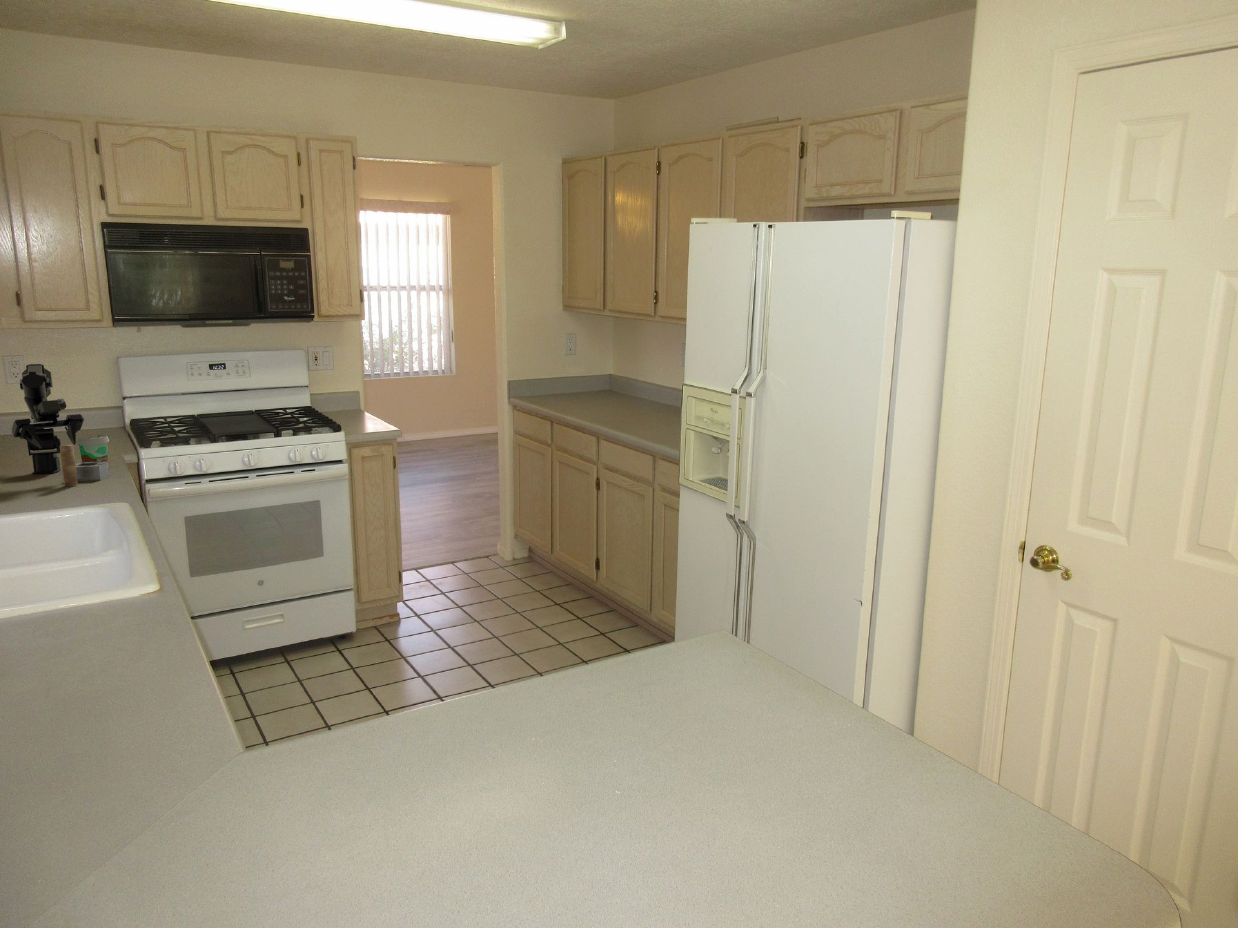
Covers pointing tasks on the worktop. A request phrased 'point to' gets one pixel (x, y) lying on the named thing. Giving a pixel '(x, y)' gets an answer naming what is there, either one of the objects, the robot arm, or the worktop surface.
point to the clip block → (92, 470)
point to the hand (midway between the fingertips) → (58, 445)
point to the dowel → (68, 465)
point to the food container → (94, 449)
